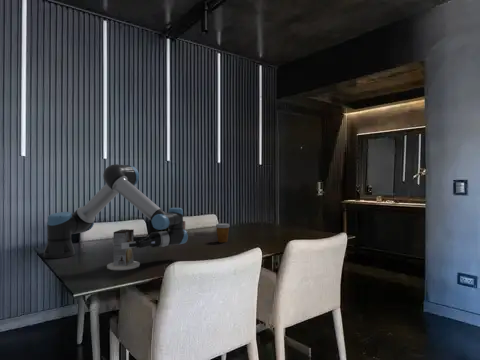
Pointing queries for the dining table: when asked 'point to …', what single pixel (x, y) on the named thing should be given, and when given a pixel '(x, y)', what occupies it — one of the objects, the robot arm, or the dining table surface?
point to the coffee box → (123, 255)
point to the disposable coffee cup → (222, 232)
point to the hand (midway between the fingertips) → (116, 243)
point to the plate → (130, 266)
